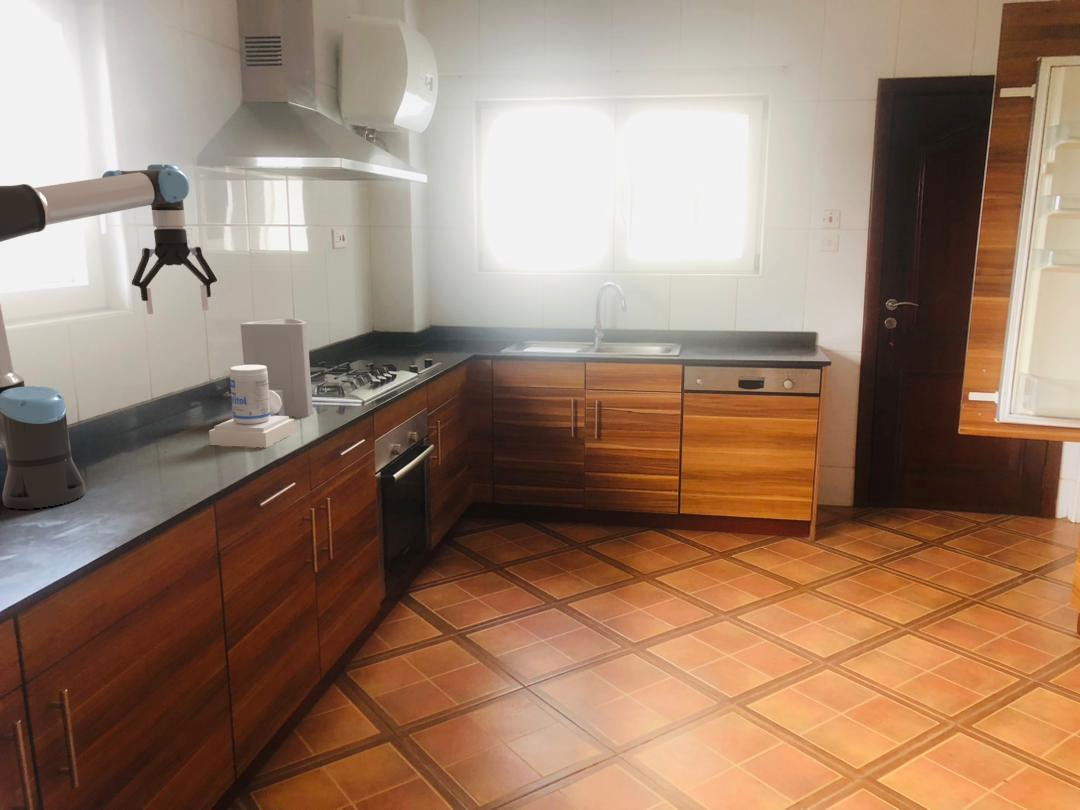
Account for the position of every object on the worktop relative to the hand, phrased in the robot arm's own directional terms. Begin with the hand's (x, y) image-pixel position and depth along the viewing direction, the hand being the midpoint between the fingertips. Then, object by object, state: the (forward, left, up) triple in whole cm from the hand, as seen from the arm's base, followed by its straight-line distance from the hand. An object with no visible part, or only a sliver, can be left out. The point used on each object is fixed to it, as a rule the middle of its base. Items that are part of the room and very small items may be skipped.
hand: (178, 312), depth 216 cm
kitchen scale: (+16, -6, -35) cm, 39 cm away
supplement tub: (+14, -8, -30) cm, 34 cm away
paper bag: (+34, +20, -35) cm, 53 cm away
